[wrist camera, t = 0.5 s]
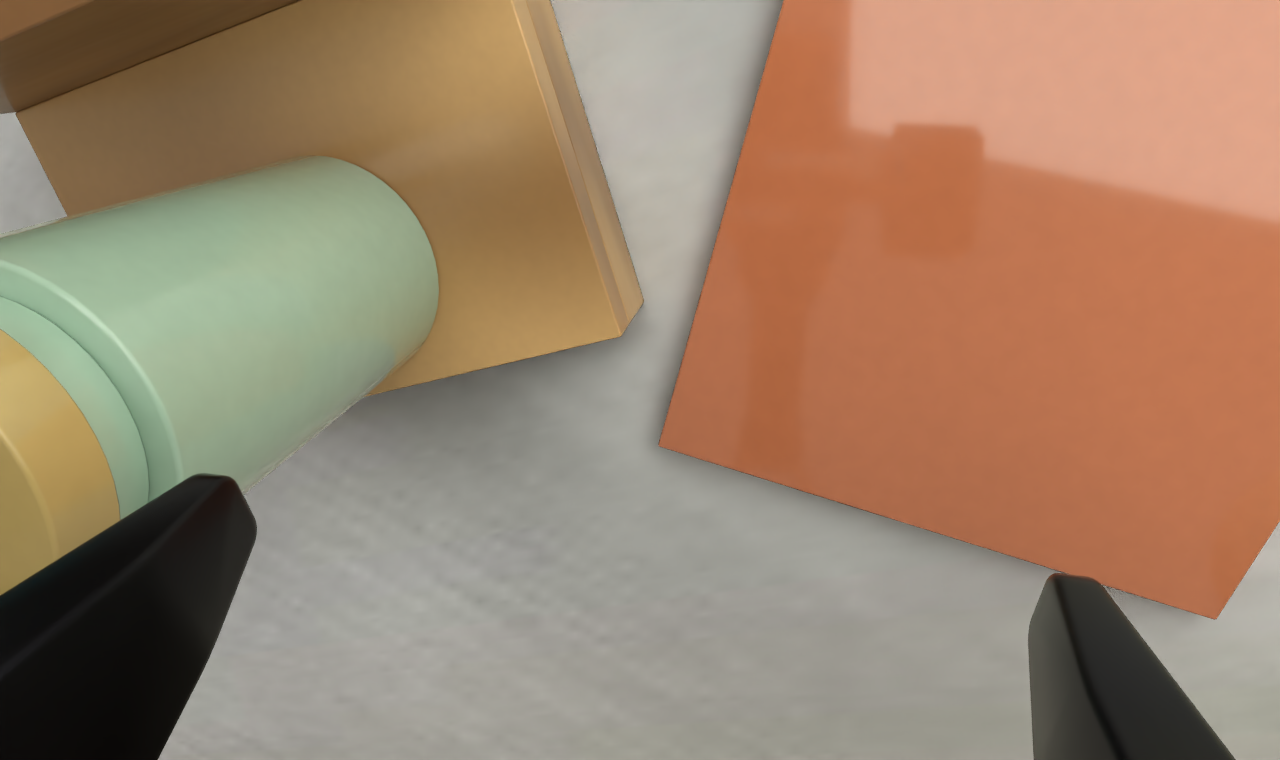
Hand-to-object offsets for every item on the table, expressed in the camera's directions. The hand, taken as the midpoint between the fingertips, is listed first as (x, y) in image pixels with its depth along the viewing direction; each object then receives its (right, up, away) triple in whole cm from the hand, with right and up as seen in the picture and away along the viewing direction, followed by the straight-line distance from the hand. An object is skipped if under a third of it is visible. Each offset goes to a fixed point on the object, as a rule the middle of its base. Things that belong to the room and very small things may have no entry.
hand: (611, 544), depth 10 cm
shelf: (-8, +7, +16) cm, 19 cm away
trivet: (+10, +5, +13) cm, 17 cm away
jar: (-8, +5, +13) cm, 16 cm away
